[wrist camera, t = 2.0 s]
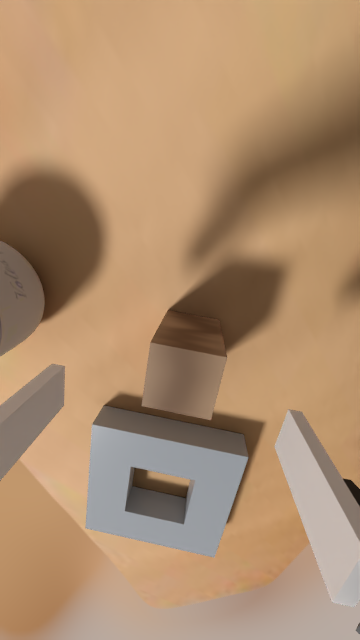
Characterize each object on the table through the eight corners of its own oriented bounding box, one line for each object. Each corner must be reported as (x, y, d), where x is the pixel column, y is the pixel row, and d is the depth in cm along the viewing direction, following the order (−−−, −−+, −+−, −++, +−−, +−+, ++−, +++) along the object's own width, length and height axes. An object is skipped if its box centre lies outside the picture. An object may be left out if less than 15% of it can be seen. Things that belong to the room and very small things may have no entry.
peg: (219, 319, 23) (227, 357, 15) (208, 365, 24) (210, 420, 17) (168, 309, 23) (150, 342, 15) (160, 355, 25) (141, 406, 17)
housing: (243, 434, 27) (248, 457, 24) (213, 529, 32) (214, 557, 29) (103, 405, 27) (92, 424, 24) (96, 502, 32) (85, 528, 29)
